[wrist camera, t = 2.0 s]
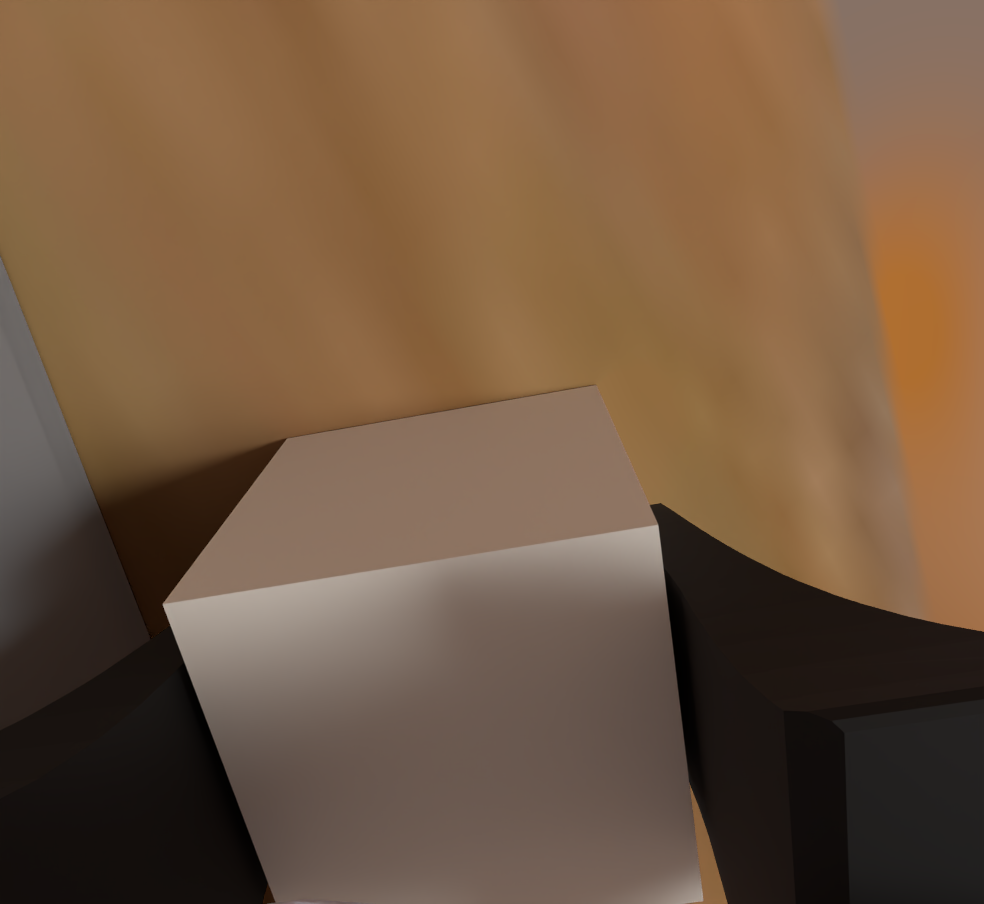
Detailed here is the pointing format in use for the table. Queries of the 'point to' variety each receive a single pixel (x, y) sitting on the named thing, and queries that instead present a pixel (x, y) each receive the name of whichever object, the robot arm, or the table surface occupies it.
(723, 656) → the robot arm
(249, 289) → the table surface
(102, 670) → the box
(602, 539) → the cube
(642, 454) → the table surface
